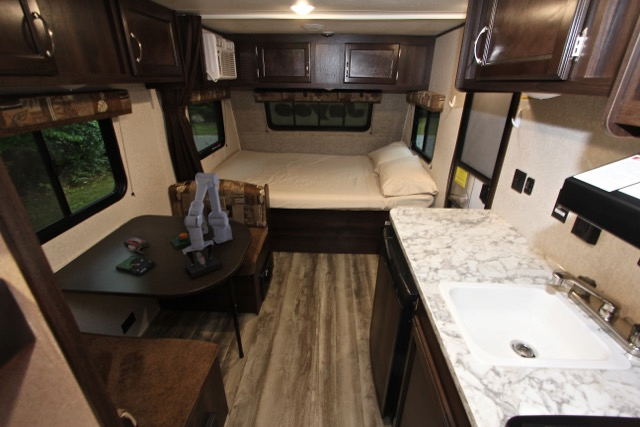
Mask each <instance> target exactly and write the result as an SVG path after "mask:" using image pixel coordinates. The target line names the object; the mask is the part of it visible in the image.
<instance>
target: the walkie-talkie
mask: <svg viewBox="0 0 640 427" xmlns="http://www.w3.org/2000/svg"><path fill="white" fill-rule="evenodd" d="M123 245H125V246H126V247H127V248H128V250H129V251H130V252H132V253H134V252H136V253H138V254H141V255H145V252H143V251H141V250H142V249H144V248H146V247H148V246H149V244H148V241H147V240H144V239H141V238H140V237H136V236H133V237H130V238H128V239H126V240H125V241H124V242H123Z"/></svg>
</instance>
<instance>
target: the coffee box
mask: <svg viewBox="0 0 640 427" xmlns="http://www.w3.org/2000/svg"><path fill="white" fill-rule="evenodd" d="M188 210H189V211H190V207H188ZM201 229H202V235H207V234H209V228H208V221H207V216H206V210H205V209H204V208H203V212H202V225H201Z"/></svg>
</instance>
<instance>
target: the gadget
mask: <svg viewBox="0 0 640 427" xmlns="http://www.w3.org/2000/svg"><path fill="white" fill-rule="evenodd" d="M203 257H204V260H205V264H203V265H201V264H200V262H199V261H198V260H197V259H195V260H194V262H195V264H194V265H193V264H192V262H191V261H190V262H188V263H185V264H184V266H185V270H186V271H187V272H188V274H189V275H190V277H191V278H192V279H196V278H198V277H201V276H203V275H206V274H209V273H211V272H214V271H216V270H219V269H221V268H222V265H221V262H220V261H219V260H218V259H217V257H215V256H214V254H210V259H208V258H207V256H203Z"/></svg>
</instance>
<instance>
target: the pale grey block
mask: <svg viewBox="0 0 640 427" xmlns="http://www.w3.org/2000/svg"><path fill="white" fill-rule="evenodd" d="M195 256H196V260H198V261H199V262H200V264H201V265H203V264H205V260H204V257H205V256H204V255H203V254H202V253H201V252H200V251H197V252H196V253H195Z"/></svg>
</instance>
